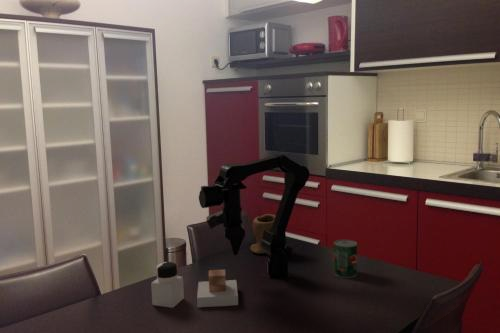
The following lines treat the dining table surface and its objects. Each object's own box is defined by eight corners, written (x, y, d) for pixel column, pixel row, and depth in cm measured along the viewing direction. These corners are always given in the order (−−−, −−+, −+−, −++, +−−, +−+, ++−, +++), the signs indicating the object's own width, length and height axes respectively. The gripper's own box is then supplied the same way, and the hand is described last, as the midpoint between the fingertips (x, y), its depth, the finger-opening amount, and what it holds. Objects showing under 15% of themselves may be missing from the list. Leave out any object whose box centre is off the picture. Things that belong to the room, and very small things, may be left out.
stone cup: (254, 258, 175) (253, 220, 173) (248, 248, 187) (247, 213, 185) (292, 254, 178) (292, 217, 176) (284, 245, 190) (283, 210, 188)
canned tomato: (359, 277, 154) (359, 246, 152) (335, 278, 154) (335, 246, 152) (354, 269, 161) (354, 239, 160) (332, 269, 162) (332, 239, 160)
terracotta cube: (225, 284, 143) (225, 269, 142) (225, 291, 138) (225, 275, 137) (209, 285, 143) (208, 270, 142) (209, 292, 138) (208, 276, 137)
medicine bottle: (184, 298, 141) (182, 261, 139) (173, 308, 134) (171, 269, 132) (163, 295, 143) (162, 259, 141) (151, 305, 136) (149, 267, 135)
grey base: (236, 288, 147) (236, 279, 147) (238, 305, 135) (237, 295, 135) (199, 290, 146) (198, 281, 146) (197, 307, 134) (197, 297, 134)
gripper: (206, 198, 155) (209, 243, 157) (207, 212, 137) (209, 262, 139) (239, 196, 156) (241, 240, 158) (244, 209, 138) (246, 259, 140)
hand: (234, 250), depth 149 cm, fingers open, 9 cm apart
